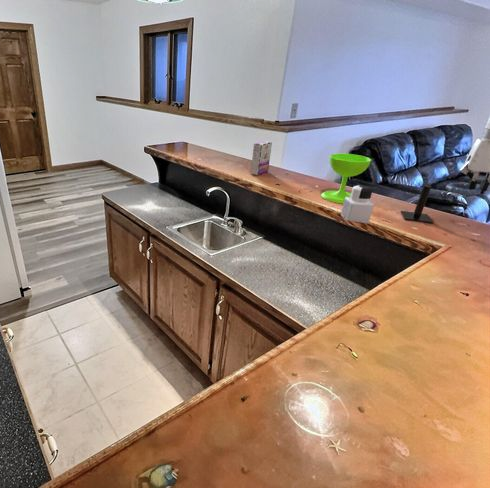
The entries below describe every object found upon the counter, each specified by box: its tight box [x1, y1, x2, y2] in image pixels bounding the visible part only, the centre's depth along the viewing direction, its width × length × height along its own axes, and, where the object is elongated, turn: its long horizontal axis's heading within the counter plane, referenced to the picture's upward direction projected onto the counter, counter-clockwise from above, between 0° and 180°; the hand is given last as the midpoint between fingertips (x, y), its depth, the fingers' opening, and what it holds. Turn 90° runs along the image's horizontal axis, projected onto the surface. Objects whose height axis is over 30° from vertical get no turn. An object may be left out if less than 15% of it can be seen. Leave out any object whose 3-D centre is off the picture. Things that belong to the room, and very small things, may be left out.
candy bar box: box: [250, 140, 273, 176], centre depth 188 cm, size 11×5×16 cm, turn 136°
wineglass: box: [320, 153, 372, 205], centre depth 152 cm, size 16×16×18 cm
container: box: [340, 184, 375, 224], centre depth 130 cm, size 8×8×13 cm
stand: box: [400, 184, 434, 225], centre depth 131 cm, size 9×9×14 cm
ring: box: [445, 182, 482, 196], centre depth 117 cm, size 9×9×2 cm
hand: (475, 192), depth 116 cm, fingers closed on ring, 2 cm apart
